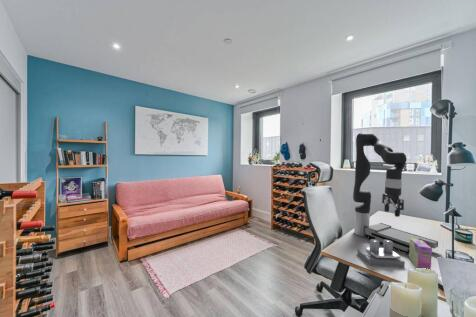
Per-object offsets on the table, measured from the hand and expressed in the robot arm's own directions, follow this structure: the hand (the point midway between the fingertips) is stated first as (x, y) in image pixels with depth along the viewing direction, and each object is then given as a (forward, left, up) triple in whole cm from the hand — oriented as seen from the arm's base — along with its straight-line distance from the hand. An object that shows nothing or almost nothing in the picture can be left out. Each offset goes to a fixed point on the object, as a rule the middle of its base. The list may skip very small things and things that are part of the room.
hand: (391, 213), depth 115 cm
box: (+7, +11, -26) cm, 29 cm away
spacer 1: (+5, -12, -20) cm, 24 cm away
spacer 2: (+5, -5, -20) cm, 21 cm away
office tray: (-16, +17, -26) cm, 35 cm away
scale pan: (+5, -8, -22) cm, 23 cm away
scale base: (+5, -9, -25) cm, 27 cm away
